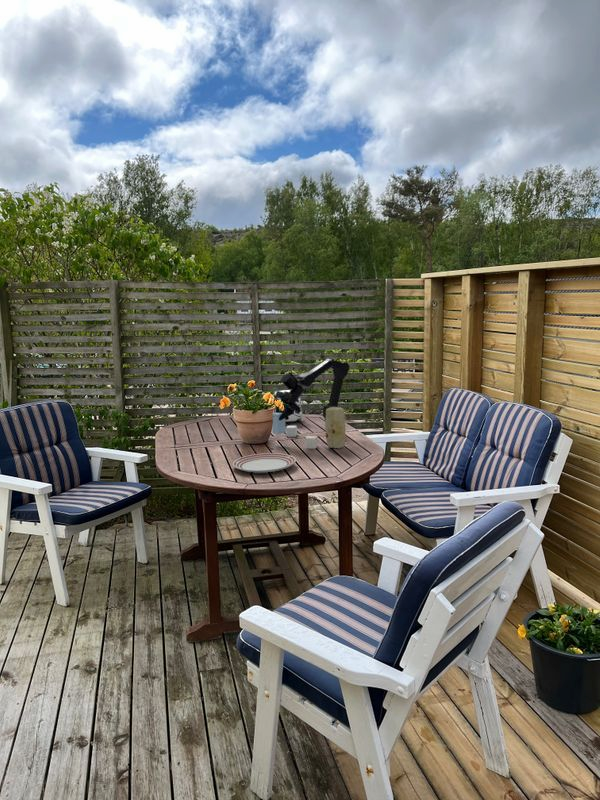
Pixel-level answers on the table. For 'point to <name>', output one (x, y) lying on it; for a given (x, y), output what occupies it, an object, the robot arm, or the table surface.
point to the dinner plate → (264, 462)
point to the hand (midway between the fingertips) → (276, 419)
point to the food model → (335, 427)
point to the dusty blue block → (278, 424)
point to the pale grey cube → (291, 431)
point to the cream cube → (311, 441)
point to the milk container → (295, 416)
